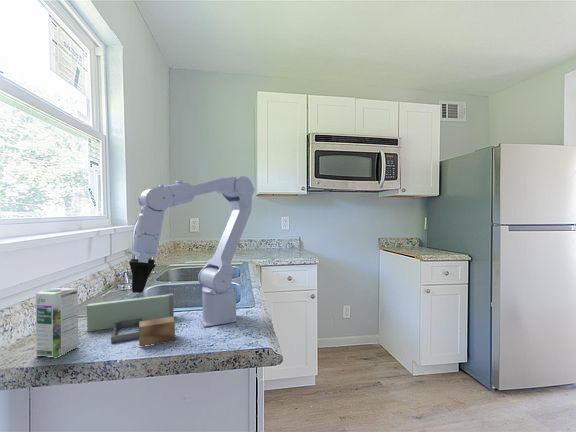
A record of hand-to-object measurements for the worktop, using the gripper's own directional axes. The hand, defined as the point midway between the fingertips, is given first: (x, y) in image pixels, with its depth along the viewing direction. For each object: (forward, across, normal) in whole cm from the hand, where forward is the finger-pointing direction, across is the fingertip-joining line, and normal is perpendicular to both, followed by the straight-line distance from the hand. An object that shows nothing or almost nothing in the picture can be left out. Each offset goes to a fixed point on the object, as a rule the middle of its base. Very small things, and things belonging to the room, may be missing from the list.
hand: (137, 289), depth 72 cm
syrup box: (+16, -4, -14) cm, 22 cm away
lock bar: (+12, 0, +7) cm, 14 cm away
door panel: (+12, -16, 0) cm, 21 cm away
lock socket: (+13, -9, 0) cm, 16 cm away
